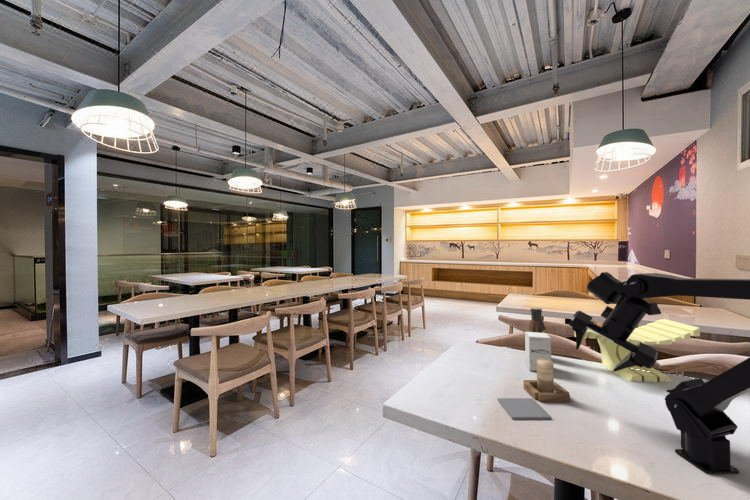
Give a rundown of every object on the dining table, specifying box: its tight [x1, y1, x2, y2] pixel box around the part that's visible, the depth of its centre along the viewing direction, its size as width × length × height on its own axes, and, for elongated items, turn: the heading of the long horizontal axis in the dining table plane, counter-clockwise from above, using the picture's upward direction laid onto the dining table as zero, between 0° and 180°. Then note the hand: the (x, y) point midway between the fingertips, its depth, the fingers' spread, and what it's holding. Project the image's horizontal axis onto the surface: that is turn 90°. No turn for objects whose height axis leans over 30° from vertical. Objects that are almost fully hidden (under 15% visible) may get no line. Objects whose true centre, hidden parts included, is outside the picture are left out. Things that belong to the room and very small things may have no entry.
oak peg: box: [536, 358, 555, 393], centre depth 91 cm, size 4×4×10 cm
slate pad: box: [497, 397, 552, 420], centre depth 83 cm, size 10×10×1 cm
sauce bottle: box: [528, 307, 547, 334], centre depth 123 cm, size 6×6×20 cm
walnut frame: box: [523, 379, 571, 403], centre depth 91 cm, size 10×10×2 cm
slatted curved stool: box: [573, 318, 701, 383], centre depth 106 cm, size 30×16×18 cm, turn 85°
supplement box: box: [524, 331, 552, 372], centre depth 111 cm, size 7×7×13 cm
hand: (595, 359), depth 83 cm, fingers open, 9 cm apart
